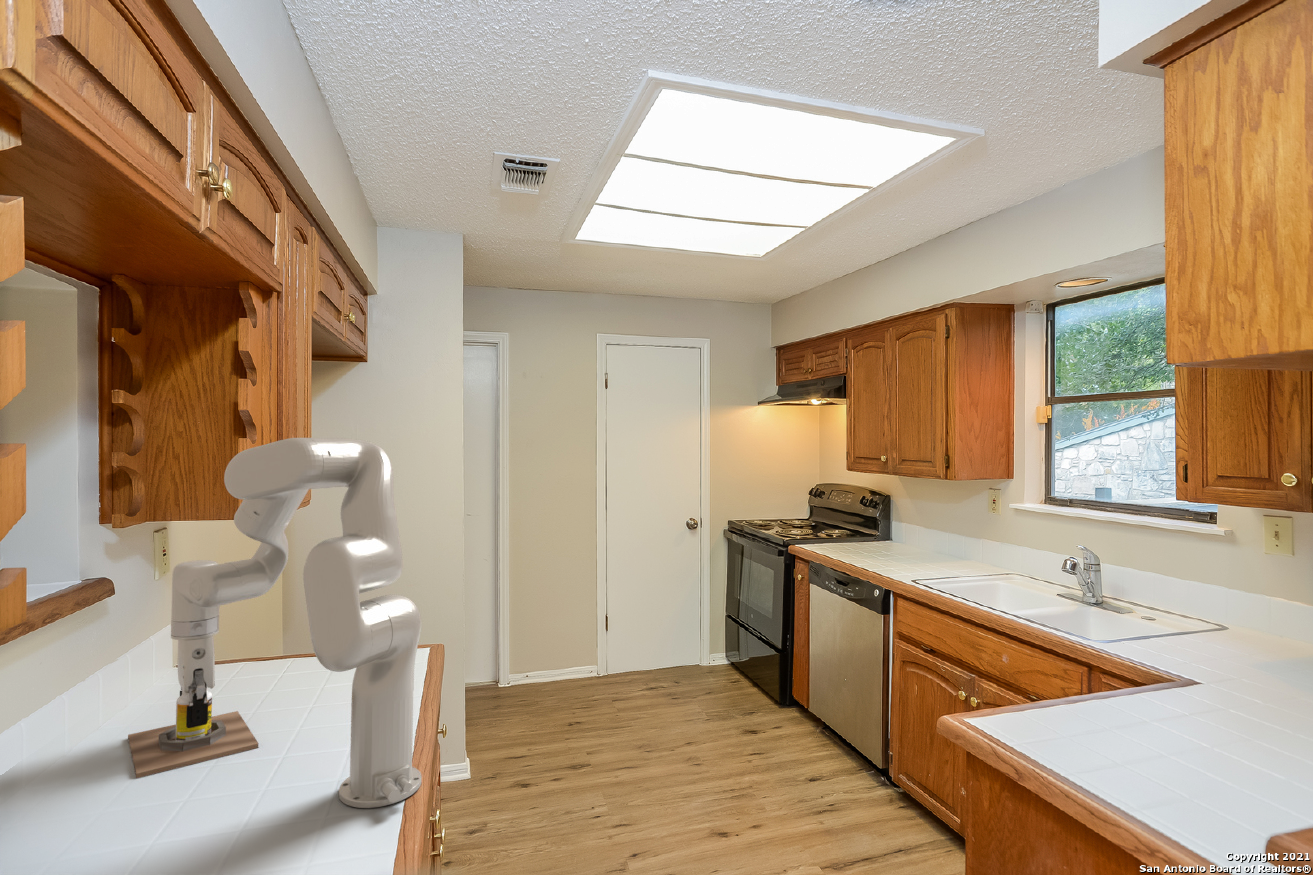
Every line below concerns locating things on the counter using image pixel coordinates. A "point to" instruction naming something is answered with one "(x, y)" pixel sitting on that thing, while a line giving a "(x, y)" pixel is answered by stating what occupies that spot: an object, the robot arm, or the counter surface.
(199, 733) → the supplement bottle
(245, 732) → the ring board
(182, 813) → the counter surface
